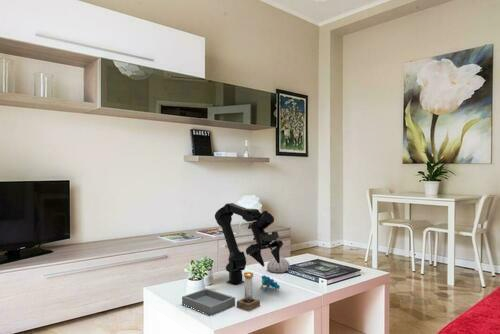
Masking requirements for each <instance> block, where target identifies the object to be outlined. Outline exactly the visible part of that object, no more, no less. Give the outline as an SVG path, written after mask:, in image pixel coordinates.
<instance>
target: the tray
mask: <svg viewBox="0 0 500 334" xmlns="http://www.w3.org/2000/svg"><path fill="white" fill-rule="evenodd" d="M235 302H236V297H235V296H232V295H228V294H225V293H221V292H218V291H217V290H212V289H210V288H204V289H201V290H198V291H195V292H192V293H189V294H186V295H183V296H181V305H182V304H185V305H187V306H189V307H192V308H194V309H196V310H195V311H197V310H199V311H201V312H200V313H202V312H204V313H206V314H205V315H207V314H209V315H212V316H214V314H215V315H217V314H219V313H222V312H223V311H226V310H228V309H229V310H230V309H231V308H233V307H235V306H236V303H235ZM189 307H188V308H189ZM194 309H193V310H194ZM199 311H198V312H199ZM221 311H222V312H221ZM204 313H203V314H204ZM216 313H217V314H216ZM209 315H208V316H209Z"/></svg>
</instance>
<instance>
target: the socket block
mask: <svg viewBox="0 0 500 334" xmlns="http://www.w3.org/2000/svg"><path fill="white" fill-rule="evenodd" d="M259 307H261V300H260V299H257V298H254V297H252V302H251V303H246V302H245V297H243V298H241V299H238V300H237V301H236V308H238V309H241V310H244V311H248V312H251V311H253V310H255V309H258V308H259Z"/></svg>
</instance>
